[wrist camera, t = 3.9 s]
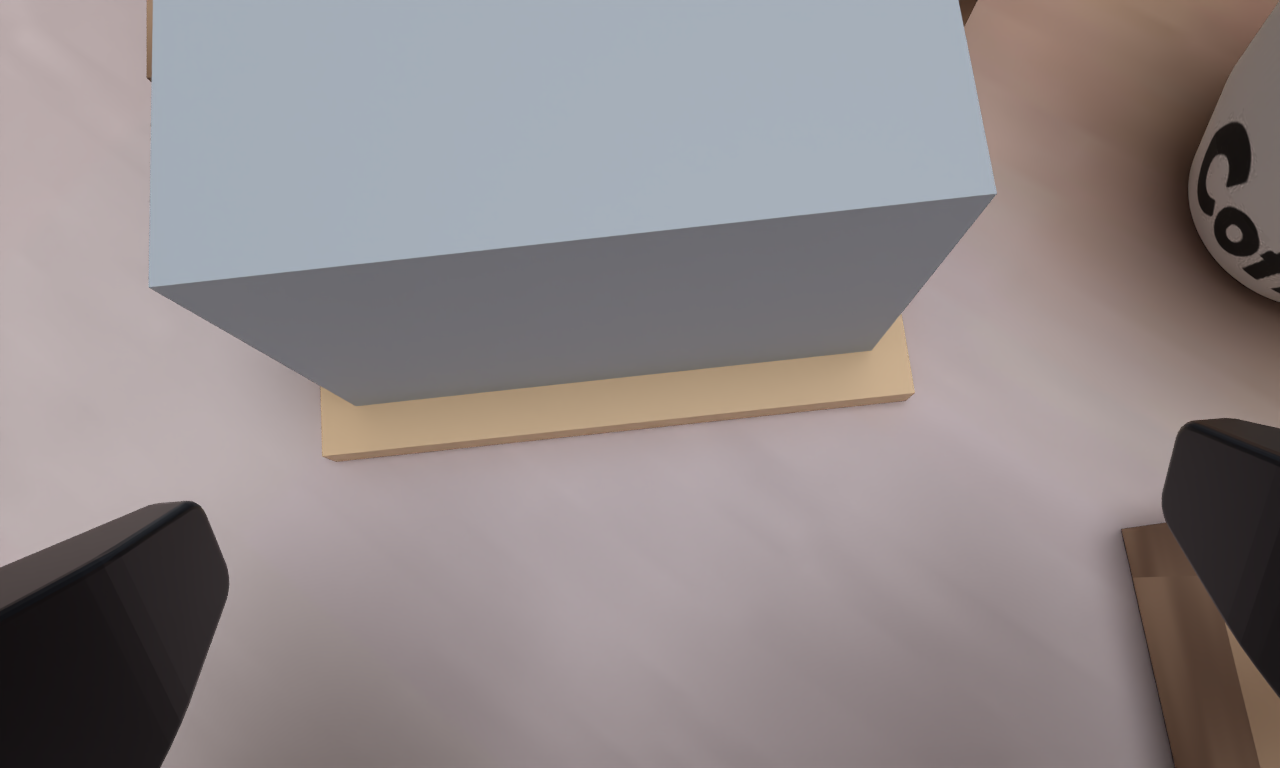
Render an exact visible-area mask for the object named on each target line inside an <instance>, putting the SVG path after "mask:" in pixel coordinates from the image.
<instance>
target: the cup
mask: <svg viewBox="0 0 1280 768" xmlns="http://www.w3.org/2000/svg"><path fill="white" fill-rule="evenodd" d="M1188 197H1189V205H1190V210H1191V214H1192V218H1193V221H1194V224H1195V227H1196V229H1197V231H1198V234H1199V236H1200V238H1201V239H1202V241H1203V243H1204V245H1205V246H1206V248H1207V249H1208V251H1209V252H1210V253H1211V255H1212V256H1213V257H1214V259H1215V260H1216V261H1217V262H1218V263H1219V264H1220V265H1221V266H1222V267H1223V268H1224V269H1225V270H1226V271H1227V272H1228V273H1229V274H1230V275H1231V276H1232V277H1234V278H1235V279H1236V280H1237V281H1239V282H1240V283H1242V284H1243V285H1245V286H1246V287H1248V288H1249V289H1251V290H1253V291H1254V292H1256V293H1258V294H1260V295H1262V296H1265V297H1267V298H1269V299H1272V300H1274V301H1277V302H1280V1H1279V2H1278V3H1277V5H1276V6H1275V8H1274V9H1273V11H1272V12H1271V14H1270V15H1269V17H1268V18H1267V19H1266V21H1265V22H1264V24H1263V25H1262V27H1261V28H1260V30H1259V31H1258V33H1257V34H1256V36H1255V37H1254V38H1253V40H1252V41H1251V43H1250V44H1249V46H1248V47H1247V49H1246V50H1245V52H1244V53H1243V55H1242V56H1241V57H1240V59H1239V60H1238V62H1237V63H1236V65H1235V66H1234V68H1233V70H1232V71H1231V73H1230V75H1229V77H1228V79H1227V81H1226V84H1225V86H1224V88H1223V91H1222V93H1221V95H1220V98H1219V100H1218V102H1217V105H1216V107H1215V110H1214V112H1213V114H1212V117H1211V119H1210V121H1209V124H1208V126H1207V128H1206V131H1205V133H1204V135H1203V138H1202V140H1201V142H1200V145H1199V147H1198V149H1197V152H1196V154H1195V157H1194V159H1193V162H1192V165H1191V169H1190V174H1189V183H1188Z"/></svg>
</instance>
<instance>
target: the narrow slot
mask: <svg viewBox="0 0 1280 768" xmlns="http://www.w3.org/2000/svg"><path fill="white" fill-rule="evenodd" d="M1122 534H1123V538H1124V542H1125V547H1126V551H1127V556H1128V560H1129V565H1130V569H1131V573H1132V578H1133V582H1134V587H1135V591H1136V596H1137V600H1138V604H1139V609H1140V613H1141V618H1142V622H1143V627H1144V631H1145V635H1146V640H1147V644H1148V649H1149V653H1150V658H1151V662H1152V666H1153V671H1154V675H1155V680H1156V684H1157V688H1158V693H1159V697H1160V702H1161V706H1162V711H1163V715H1164V719H1165V724H1166V728H1167V733H1168V737H1169V742H1170V746H1171V750H1172V755H1173V759H1174V764H1175V768H1280V698H1279V697H1278V696H1277V695H1276V693H1275V692H1274V691H1273V689H1272V688H1271V687H1270V685H1269V684H1268V683H1267V681H1266V680H1265V679H1264V678H1263V676H1262V675H1261V674H1260V672H1259V671H1258V670H1257V668H1256V667H1255V666H1254V664H1253V663H1252V661H1251V660H1250V659H1249V657H1248V656H1247V654H1246V653H1245V652H1244V650H1243V649H1242V648H1241V646H1240V645H1239V643H1238V641H1237V640H1236V638H1235V637H1234V635H1233V634H1232V632H1231V631H1230V629H1229V628H1228V626H1227V624H1226V623H1225V621H1224V619H1223V618H1222V616H1221V614H1220V613H1219V611H1218V609H1217V608H1216V606H1215V604H1214V603H1213V601H1212V599H1211V598H1210V596H1209V594H1208V593H1207V591H1206V589H1205V588H1204V586H1203V584H1202V583H1201V581H1200V579H1199V578H1198V576H1197V574H1196V572H1195V571H1194V569H1193V567H1192V566H1191V564H1190V562H1189V561H1188V559H1187V557H1186V556H1185V554H1184V552H1183V551H1182V549H1181V547H1180V546H1179V544H1178V542H1177V541H1176V539H1175V537H1174V536H1173V534H1172V532H1171V531H1170V529H1169V527H1168V525H1167V523H1160V524H1153V525H1146V526H1139V527H1132V528H1125V529H1122Z"/></svg>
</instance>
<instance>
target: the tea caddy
mask: <svg viewBox="0 0 1280 768" xmlns="http://www.w3.org/2000/svg"><path fill="white" fill-rule="evenodd" d="M996 194H997V192H996V187H995V182H994V177H993V172H992V167H991V161H990V156H989V151H988V146H987V141H986V136H985V131H984V126H983V121H982V116H981V111H980V106H979V101H978V96H977V91H976V86H975V81H974V76H973V71H972V66H971V61H970V56H969V51H968V46H967V41H966V36H965V31H964V26H963V21H962V16H961V11H960V6H959V0H153V29H152V97H151V164H150V232H149V288H151V289H152V290H154V291H156V292H158V293H159V294H161V295H163V296H165V297H166V298H168V299H170V300H172V301H173V302H175V303H177V304H179V305H180V306H182V307H184V308H186V309H187V310H189V311H191V312H192V313H194V314H196V315H198V316H199V317H201V318H203V319H205V320H206V321H208V322H210V323H212V324H213V325H215V326H217V327H219V328H220V329H222V330H224V331H226V332H227V333H229V334H231V335H233V336H234V337H236V338H238V339H240V340H241V341H243V342H245V343H246V344H248V345H250V346H252V347H253V348H255V349H257V350H259V351H260V352H262V353H264V354H266V355H267V356H269V357H271V358H273V359H274V360H276V361H278V362H280V363H281V364H283V365H285V366H287V367H288V368H290V369H292V370H294V371H295V372H297V373H299V374H300V375H302V376H304V377H306V378H307V379H309V380H311V381H313V382H314V383H316V384H318V385H320V392H321V429H322V456H323V457H325V458H328V459H331V460H333V461H336V462H337V461H347V460H356V459H365V458H375V457H384V456H393V455H403V454H412V453H421V452H431V451H440V450H449V449H459V448H468V447H478V446H487V445H496V444H506V443H515V442H524V441H534V440H543V439H552V438H562V437H571V436H580V435H590V434H599V433H608V432H618V431H627V430H636V429H646V428H655V427H665V426H674V425H683V424H693V423H702V422H711V421H721V420H730V419H739V418H749V417H758V416H767V415H777V414H786V413H795V412H805V411H814V410H823V409H833V408H842V407H852V406H861V405H870V404H880V403H889V402H898V401H906V400H907V399H908V398H909V397H911V396H912V395H913V394H914V393H915V391H914V385H913V379H912V373H911V367H910V361H909V356H908V350H907V344H906V338H905V332H904V326H903V320H902V314H901V313H902V312H903V311H904V309H905V308H906V307H907V305H908V304H909V303H910V302H911V300H912V299H913V298H914V297H915V295H916V294H917V293H918V292H919V290H920V289H921V288H922V287H923V285H924V284H925V283H926V282H927V280H928V279H929V278H930V277H931V275H932V274H933V273H934V272H935V270H936V269H937V268H938V267H939V265H940V264H941V263H942V262H943V260H944V259H945V258H946V257H947V255H948V254H949V253H950V252H951V250H952V249H953V248H954V247H955V245H956V244H957V243H958V242H959V240H960V239H961V238H962V237H963V235H964V234H965V233H966V232H967V230H968V229H969V228H970V227H971V225H972V224H973V223H974V222H975V220H976V219H977V218H978V217H979V215H980V214H981V213H982V212H983V210H984V209H985V208H986V207H987V205H988V204H989V203H990V202H991V200H992V199H993V198H994V197H995V195H996Z"/></svg>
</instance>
